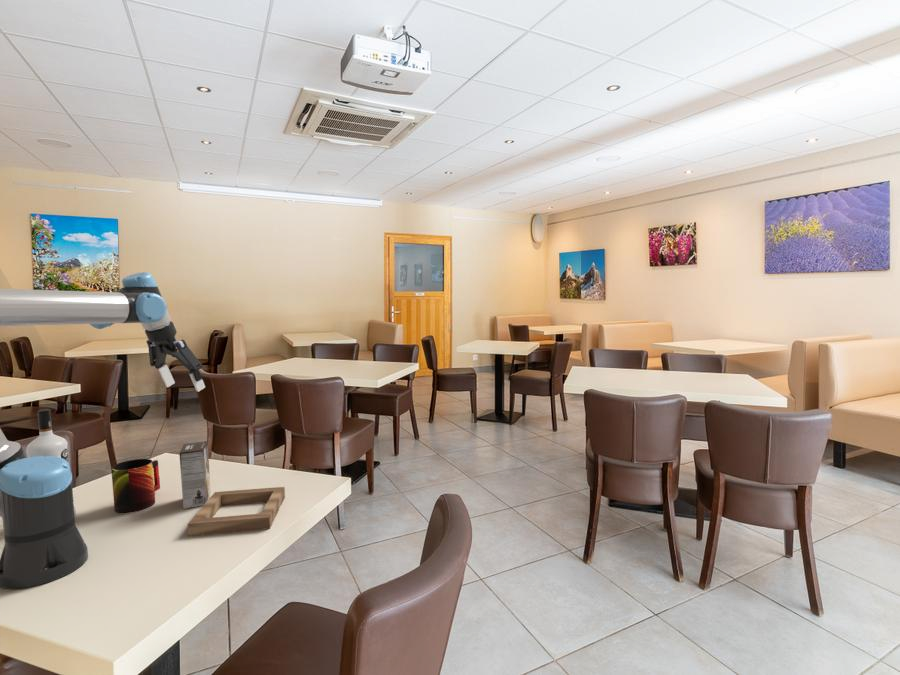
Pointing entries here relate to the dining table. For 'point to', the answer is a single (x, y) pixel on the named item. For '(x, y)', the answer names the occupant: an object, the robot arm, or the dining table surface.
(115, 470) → the mug
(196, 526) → the block
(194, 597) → the dining table surface
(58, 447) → the vodka
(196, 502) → the coffee box
